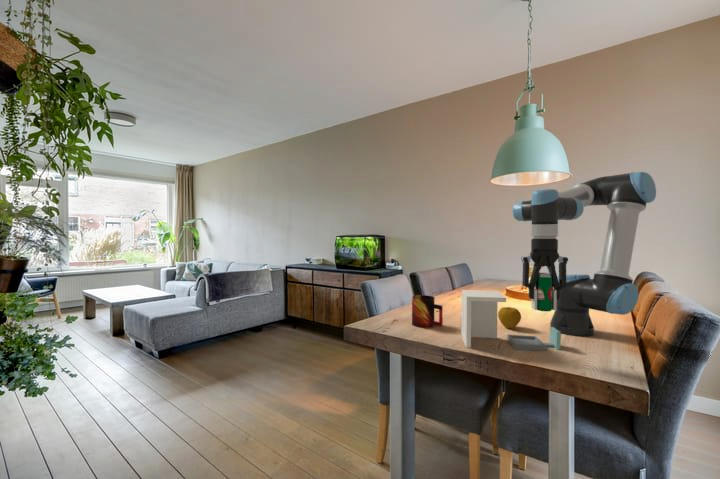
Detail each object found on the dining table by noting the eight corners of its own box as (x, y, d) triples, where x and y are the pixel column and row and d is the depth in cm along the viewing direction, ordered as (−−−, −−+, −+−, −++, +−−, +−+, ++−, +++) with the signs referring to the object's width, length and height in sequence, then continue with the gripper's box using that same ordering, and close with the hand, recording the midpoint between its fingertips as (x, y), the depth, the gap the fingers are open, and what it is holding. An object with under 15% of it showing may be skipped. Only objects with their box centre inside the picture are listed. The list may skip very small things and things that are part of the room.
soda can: (531, 308, 109) (531, 272, 109) (545, 307, 110) (546, 272, 109) (541, 312, 104) (541, 274, 104) (556, 311, 105) (556, 274, 104)
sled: (550, 341, 121) (551, 325, 121) (563, 351, 111) (563, 334, 111) (507, 339, 124) (507, 323, 124) (515, 349, 114) (515, 331, 113)
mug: (442, 330, 136) (442, 301, 135) (409, 326, 141) (409, 298, 141) (445, 323, 145) (445, 296, 144) (414, 320, 150) (415, 294, 150)
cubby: (496, 337, 126) (497, 291, 125) (505, 349, 113) (506, 297, 112) (461, 335, 128) (461, 290, 127) (466, 347, 115) (466, 296, 115)
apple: (514, 324, 144) (514, 304, 143) (525, 330, 135) (525, 309, 134) (494, 324, 143) (494, 304, 143) (503, 330, 134) (504, 309, 134)
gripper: (569, 237, 108) (568, 307, 109) (511, 237, 111) (510, 305, 112) (580, 238, 101) (579, 312, 102) (518, 238, 104) (517, 310, 105)
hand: (543, 308), depth 107 cm, fingers closed on soda can, 5 cm apart
